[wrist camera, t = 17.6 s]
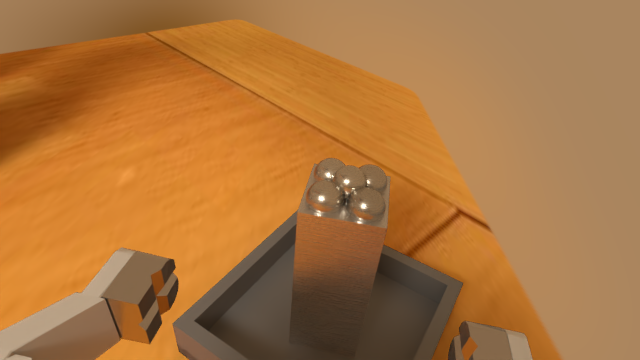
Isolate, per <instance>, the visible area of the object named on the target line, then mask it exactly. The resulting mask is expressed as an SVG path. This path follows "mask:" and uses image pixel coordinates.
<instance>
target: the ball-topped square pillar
mask: <svg viewBox="0 0 640 360" xmlns="http://www.w3.org/2000/svg"><path fill="white" fill-rule="evenodd" d="M389 192H390V177H389V176H386V175H385V173H384V171H383V170H382V169H381V168H379V167H378V166H375V165H364V166H361V167H359V168H357V167H355V166H351V165H347V166H346V165H345V164H344V163H343V162H342V161H340V160H338V159H335V158H327V159H324V160H322V161H321V162H320V163H318V164H314V166H313V169H312V172H311V175H310V178H309V181H308V183H307V186H306V189H305V192H304V195H303V198H302V200H301V203H300V206H299V209H298V212H297V226H296V241H295V257H294V272H293V287H292V302H291V318H290V333H289V343H291V344H295V345H300V346H305V347H309V348H314V349H318V350H323V351H328V352H332V353H337V354H341V355H346V356H351V357H355V355H356V351H357V347H358V343H359V339H360V335H361V331H362V327H363V323H364V319H365V315H366V311H367V307H368V303H369V299H370V295H371V291H372V287H373V283H374V279H375V275H376V271H377V267H378V263H379V259H380V255H381V251H382V247H383V244H384V240H385V236H386V232H387V224H388V208H389Z"/></svg>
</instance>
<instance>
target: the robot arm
mask: <svg viewBox="0 0 640 360" xmlns="http://www.w3.org/2000/svg"><path fill="white" fill-rule="evenodd" d="M175 268H176V267H175V263H174V260H173V259H169V258H165V257H161V256H156V255H152V254H148V253H144V252H140V251H135V250H131V249H126V248H120V249H119V250H117V251H116V252H115V253H114V254H113V255H112V256H111V257H110V259H109V260H108V261H107V262H106V264H105V265H104V266H103V267H102V268H101V270H100V271H99V272H98V273H97V275H96V276H95V277H94V278H93V279H92V281H91V282H90V283H89V284H88V286H87V287H86V288H85V289H84V290H83V292H82V293H78V292H76V293H74V294H72V295H70V296H68V297H66V298H64V299H62V300H60V301H58V302H56V303H54V304H52V305H50V306H48V307H46V308H45V309H43V310H41V311H39V312H37V313H35V314H33V315H31V316H29V317H27V318H25V319H23V320H21V321H19V322H17V323H15V324H13V325H11V326H10V327H8V328H6V329H4V330H2V331H0V360H95V359H96V358H97V357H99V356H100V355H101V354H103V353H104V352H105V351H107V350H108V349H110V348H111V347H112V346H114V345H115V344H116V343H118V342H119V341H120V338H121V339H126V340H131V341H136V342H141V343H146V344H150V343H151V341H152V340H153V338H154V336H155V334H156V333H157V331H158V329H159V328H160V326H161V324H162V320H161V315H162V314H163V313H165V312H167V311H168V310H170V308H171V306H172V304H173V303H174V301H175V298H176V295H177V292H178V278H177V276H176V275H175V274H174V273H173V271H174V269H175ZM459 332H460V335H458V336H456V337H454V338H453V340H452V342H451V344H450V349H449V354H448V360H533V358H532V355H531V351H530V347H529V344H528V340H527V337H526V336H525V334H524V333H521V332H516V331H511V330H506V329H502V328H499V327H494V326H489V325H484V324H479V323H474V322H469V321H464V322H462V324H461V325H460V327H459Z"/></svg>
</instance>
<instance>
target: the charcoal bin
mask: <svg viewBox="0 0 640 360" xmlns="http://www.w3.org/2000/svg"><path fill="white" fill-rule="evenodd" d="M297 212H298V210H297V211H296V212H295V213H294V214H293V215H292V216H291V217H290V218H288V219H287V220H286V221H285V222H284V223H283V224H282V225H281V226H280V227H279V228H277V229H276V230H275V231H274V232H273V233H272V234H271V235H270V236H269V237H268V238H266V239H265V240H264V241H263V242H262V243H261V244H260V245H259V246H258V247H257V248H255V249H254V250H253V251H252V252H251V253H250V254H249V255H248V256H247V257H246V258H244V259H243V260H242V261H241V262H240V263H239V264H238V265H237V266H236V267H235V268H233V269H232V270H231V271H230V272H229V273H228V274H227V275H226V276H225V277H224V278H222V279H221V280H220V281H219V282H218V283H217V284H216V285H215V286H214V287H213V288H211V289H210V290H209V291H208V292H207V293H206V294H205V295H204V296H203V297H202V298H200V299H199V300H198V301H197V302H196V303H195V304H194V305H193V306H192V307H191V308H189V309H188V310H187V311H186V312H185V313H184V314H183V315H182V316H181V317H180V318H178V319H177V320H176V321H175V322H174V323H173V328H174V332H175V336H176V341H177V345H178V349H179V352H180V353H182V354H183V355H184V356H186V357H187V358H188V359H189V360H431V359H432V356H433V354H434V352H435V349H436V347H437V345H438V342H439V340H440V337H441V335H442V333H443V330H444V328H445V326H446V323H447V321H448V318H449V316H450V314H451V311H452V309H453V307H454V304H455V302H456V299H457V297H458V295H459V292H460V290H461V288H462V285H463V283H462V282H460V281H458V280H456V279H454V278H452V277H450V276H448V275H446V274H444V273H441V272H439V271H437V270H435V269H433V268H431V267H429V266H427V265H425V264H423V263H421V262H419V261H417V260H414V259H412V258H410V257H408V256H406V255H404V254H402V253H400V252H398V251H396V250H394V249H392V248H390V247H387V246H385V245H383V247H382V251H381V255H380V259H379V263H378V267H377V271H376V275H375V279H374V283H373V287H372V291H371V295H370V299H369V303H368V307H367V311H366V315H365V319H364V323H363V327H362V331H361V335H360V339H359V343H358V347H357V351H356V355H355V357H351V356H346V355H341V354H337V353H332V352H328V351H323V350H318V349H314V348H309V347H305V346H300V345H295V344H291V343H289V333H290V318H291V302H292V287H293V272H294V257H295V241H296V226H297Z"/></svg>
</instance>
